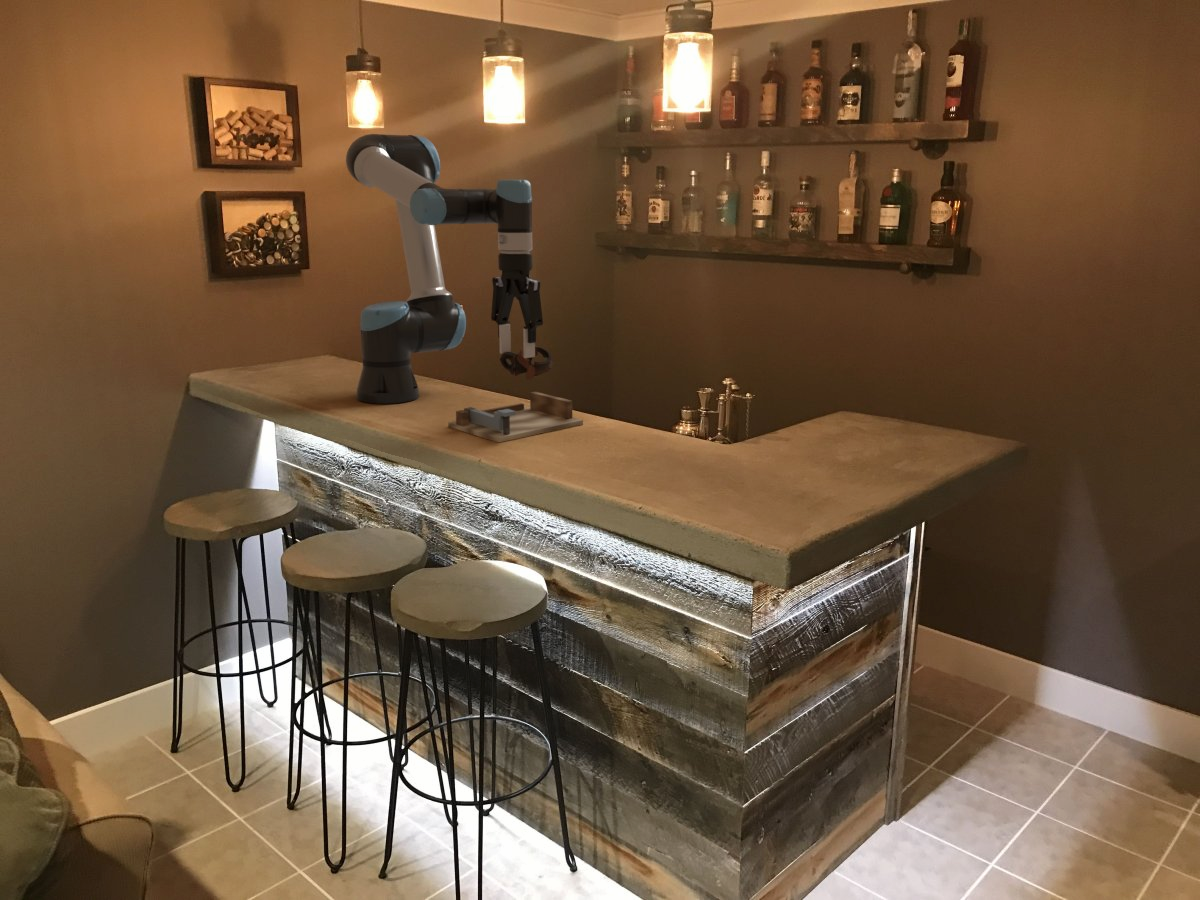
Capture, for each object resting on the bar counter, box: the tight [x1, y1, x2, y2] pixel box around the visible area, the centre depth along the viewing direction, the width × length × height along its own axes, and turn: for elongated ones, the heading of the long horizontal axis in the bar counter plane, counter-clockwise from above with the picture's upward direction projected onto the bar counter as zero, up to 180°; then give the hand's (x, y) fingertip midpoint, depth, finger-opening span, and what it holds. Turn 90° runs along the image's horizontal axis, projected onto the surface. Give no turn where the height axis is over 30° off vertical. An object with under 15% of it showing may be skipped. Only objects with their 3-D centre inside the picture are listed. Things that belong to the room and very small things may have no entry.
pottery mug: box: [499, 345, 554, 382], centre depth 221 cm, size 12×10×8 cm
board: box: [447, 391, 584, 443], centre depth 216 cm, size 18×24×5 cm
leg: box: [463, 406, 516, 431], centre depth 209 cm, size 16×3×4 cm, turn 41°
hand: (517, 355), depth 219 cm, fingers closed on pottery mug, 8 cm apart
